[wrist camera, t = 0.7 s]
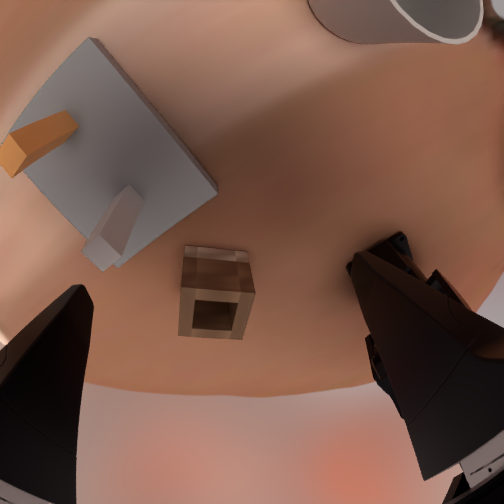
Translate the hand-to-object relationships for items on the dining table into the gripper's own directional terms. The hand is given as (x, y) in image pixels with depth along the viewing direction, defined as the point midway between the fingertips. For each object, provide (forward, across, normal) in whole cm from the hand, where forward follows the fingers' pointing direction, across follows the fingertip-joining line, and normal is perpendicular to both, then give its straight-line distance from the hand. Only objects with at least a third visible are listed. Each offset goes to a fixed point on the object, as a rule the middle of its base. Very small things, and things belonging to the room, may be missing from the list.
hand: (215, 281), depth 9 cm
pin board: (+12, +8, -2) cm, 15 cm away
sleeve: (+13, +2, +10) cm, 16 cm away
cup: (+13, -9, -12) cm, 20 cm away
